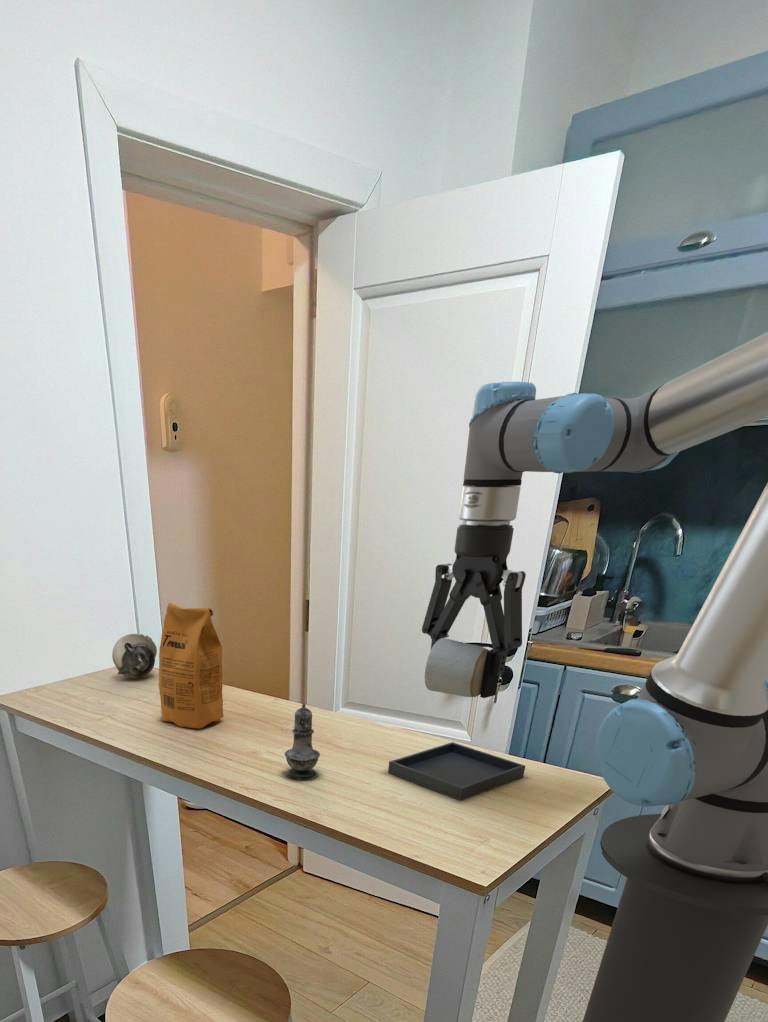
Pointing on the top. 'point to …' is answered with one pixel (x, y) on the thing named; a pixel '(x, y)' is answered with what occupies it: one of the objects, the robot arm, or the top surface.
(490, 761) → the tray
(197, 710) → the coffee package
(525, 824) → the top surface
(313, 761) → the dark chess piece
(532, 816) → the top surface
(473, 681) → the ceramic mug
